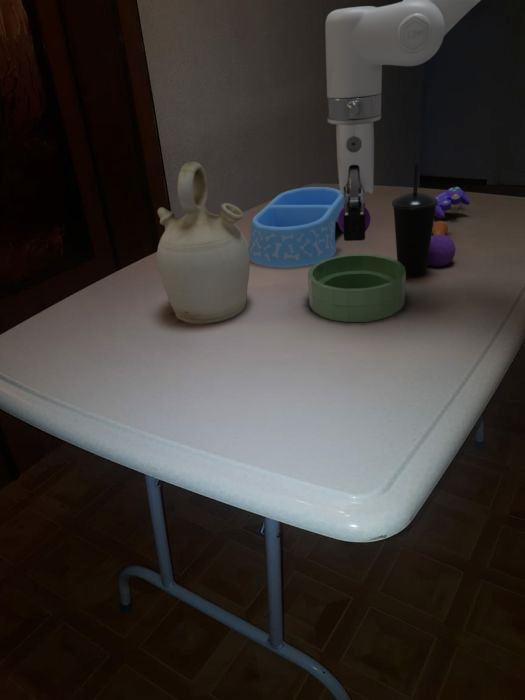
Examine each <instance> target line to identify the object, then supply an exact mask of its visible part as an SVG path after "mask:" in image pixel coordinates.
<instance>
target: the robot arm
mask: <svg viewBox="0 0 525 700" xmlns="http://www.w3.org/2000/svg"><path fill="white" fill-rule="evenodd" d="M481 1H482V0H402V1H399V2H396V3H392V4H387V5H383V6H382V5H381V6H372V5H365V6H353V7H345V8H344V7H343V8H338V9H334V10H333V11H331V12H330V13H328V14H327V16H326V18H325V25H324V26H325V28H324V30H325V32H324V33H325V70H326V73H325V74H326V110H327V111H326V112H327V123H328V124H331V125H335V132H336V133H335V134H336V161H337V175H338V185H339V190H340V193H341V194H342V195H343V196H344V198H345V204H344V207H345V214H344V233H343V240H344V241H345V242H353V241H354V242H355V241H356V242H358V241H364V240H365V239H366V231H365V213H364V207H365V208H366V203H365V202H364V199H365V193H368V194H369V195H373V193H374V191H375V188H374V187H375V186H374V185H375V184H374V183H375V182H374V181H375V128H374V122H377V121H380V120H381V119H382V89H383V88H382V83H383V82H382V81H383V78H382V77H383V66H398V67H416V66H419V65H422V64H424V63H426V62H427V61H429V60H430V59H432V58H433V57H434V56H435V55H436V54H437V52H438V51H439V50H440V47H441V46H442V43H443V41H444V38H445V36H446V35H447V34H448V33H449V32H450V31H451V30H452V28H454V27H455V25H456V24H458V23H459V22H460V21H461V20H462V19H463V18H464V17H465V16H466V15H467V14H468V13H469V12H470V11H471V10H472V9H473V8H474V7H475V6H477V4H478V3H480V2H481Z"/></svg>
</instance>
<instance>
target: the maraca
mask: <svg viewBox="0 0 525 700" xmlns="http://www.w3.org/2000/svg"><path fill="white" fill-rule="evenodd" d="M448 230H449V226H448V224H447V223H446V222H445V221H443V220H438V221H434V222H433V228H432V235H431V241H430V248H429V254H428V261H427V266H433V267H434V268H435V267H438V268H440V267H444V266H447V265H449V264H450V263H451V262H452V261H453V260H454V257H455V256H456V245H455V242H454V240H453V239H452V238H451V237H450V236H448V235H447V233H448Z"/></svg>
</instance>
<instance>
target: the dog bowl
mask: <svg viewBox="0 0 525 700" xmlns="http://www.w3.org/2000/svg"><path fill="white" fill-rule="evenodd" d="M344 204H345V195H344V196H343V195H342V194H341V193H340V189H337V188H334V187H327V186H309V187H300V188H293V189H290V190H287V191H284V192H281V193H278V195H277V196H275V197H274V198H273V199H272V200H271V201H270V202H269V203H268V204H266V206H264V207H263V208H262V209H261V210H260V211H259V212H258V213H256V214H255V216H253V218H252V220H251V226H250V227H251V228H250V236H249V237H250V238H249V245H248V249H249V256H250V262H252V263H254V264H256V265H259V266H263V267H268V268H278V269H279V268H280V269H281V268H282V269H284V268H286V269H291V268H300V267H307V266H313V265H314V264H316V263H318V262H320V261H322V260H325V259H328V258H332V257H334V255H335V254H336V252H337V245H336V223H337V224H338V216H339V213H340V212H341V210H342V209H343V208H344Z"/></svg>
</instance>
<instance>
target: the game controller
mask: <svg viewBox="0 0 525 700" xmlns="http://www.w3.org/2000/svg"><path fill="white" fill-rule="evenodd" d="M434 197H435V198H437V199H438V204H437V205H436V209H435V216H436V217H437V218H439V219H441V220H444V219H445V217H446V216H445V213H446V214H447V215H448V216H449V218H450V221H451V222H452V223H454V222H455V220H456V219H457V216H458V214H459V210H460V209H462V207H463V205H465V206H466V205H467V206H469V205H470V203H471V201H470V197H468V195H467V186H466V185H465V186H464V189H462V188H460V187H459V186H454V187H453V186H452V187H450V188H448V189H446V190H444V191H442V192H440V193H438V194H436V195H435V196H434ZM452 205H454V206H456V205H457V206H458V209H456V210H453V209H451V208H452ZM447 211H452V212H456V215H455V217H454V218H453V220H452V217H451V215H450V214H449V213H448V212H447Z"/></svg>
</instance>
